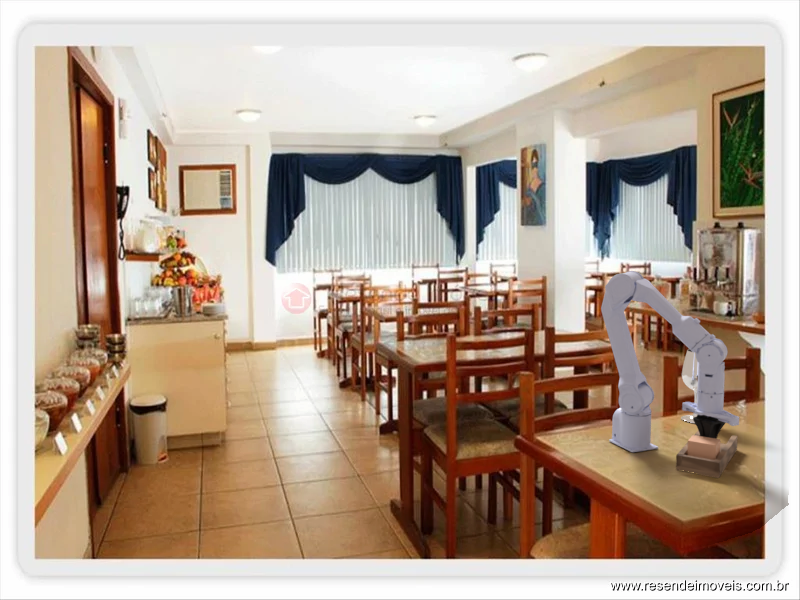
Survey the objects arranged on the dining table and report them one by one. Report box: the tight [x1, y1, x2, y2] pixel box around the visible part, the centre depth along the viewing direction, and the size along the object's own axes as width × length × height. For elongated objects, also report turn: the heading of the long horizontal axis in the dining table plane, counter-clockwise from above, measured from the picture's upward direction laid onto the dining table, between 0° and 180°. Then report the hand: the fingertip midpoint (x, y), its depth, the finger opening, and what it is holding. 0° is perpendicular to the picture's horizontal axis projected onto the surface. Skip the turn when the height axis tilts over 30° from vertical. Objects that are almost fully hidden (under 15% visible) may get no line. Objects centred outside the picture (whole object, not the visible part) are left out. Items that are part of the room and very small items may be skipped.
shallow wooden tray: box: [675, 429, 738, 479], centre depth 160 cm, size 22×9×4 cm, turn 144°
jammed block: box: [687, 434, 721, 460], centre depth 156 cm, size 5×6×5 cm
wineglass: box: [680, 348, 699, 424], centre depth 190 cm, size 8×8×20 cm
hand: (708, 447), depth 160 cm, fingers closed
